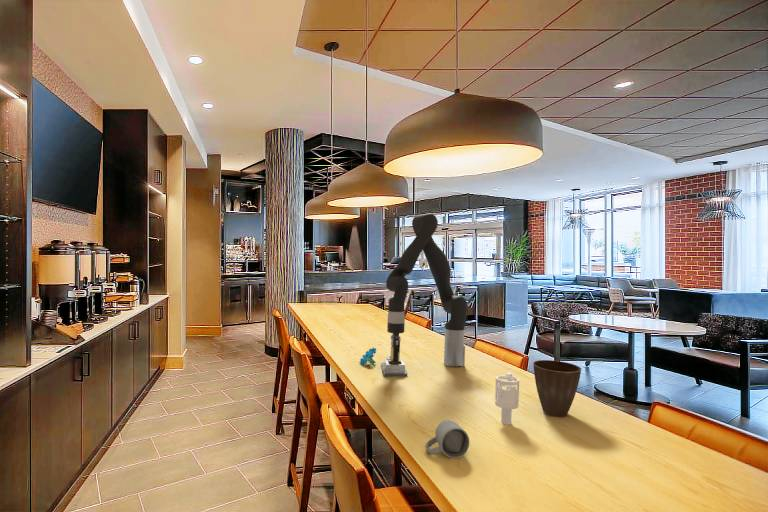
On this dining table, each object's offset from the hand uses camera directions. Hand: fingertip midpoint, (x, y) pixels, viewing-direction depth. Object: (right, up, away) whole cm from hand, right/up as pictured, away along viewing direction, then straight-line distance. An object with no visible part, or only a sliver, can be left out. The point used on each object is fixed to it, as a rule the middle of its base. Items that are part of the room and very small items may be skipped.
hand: (395, 360), depth 181 cm
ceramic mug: (+12, -6, -72) cm, 74 cm away
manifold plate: (-1, -6, +4) cm, 7 cm away
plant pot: (+53, -7, -42) cm, 68 cm away
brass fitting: (0, -2, 0) cm, 2 cm away
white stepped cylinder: (+34, -7, -51) cm, 62 cm away
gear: (-12, -6, +14) cm, 20 cm away
